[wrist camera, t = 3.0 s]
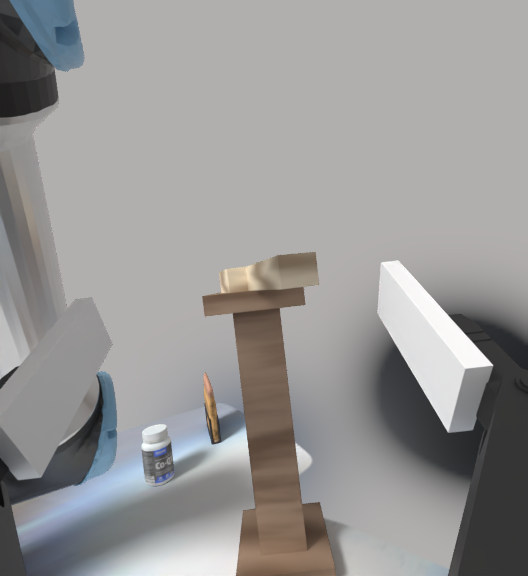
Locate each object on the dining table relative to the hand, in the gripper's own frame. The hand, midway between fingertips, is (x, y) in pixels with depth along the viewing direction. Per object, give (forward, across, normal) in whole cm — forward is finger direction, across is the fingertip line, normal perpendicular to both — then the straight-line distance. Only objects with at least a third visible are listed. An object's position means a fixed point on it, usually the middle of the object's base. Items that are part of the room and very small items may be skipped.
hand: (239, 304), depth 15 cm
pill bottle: (+20, -21, -46) cm, 54 cm away
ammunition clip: (+33, -14, -53) cm, 64 cm away
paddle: (+15, +1, -8) cm, 18 cm away
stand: (+5, 0, -37) cm, 37 cm away
